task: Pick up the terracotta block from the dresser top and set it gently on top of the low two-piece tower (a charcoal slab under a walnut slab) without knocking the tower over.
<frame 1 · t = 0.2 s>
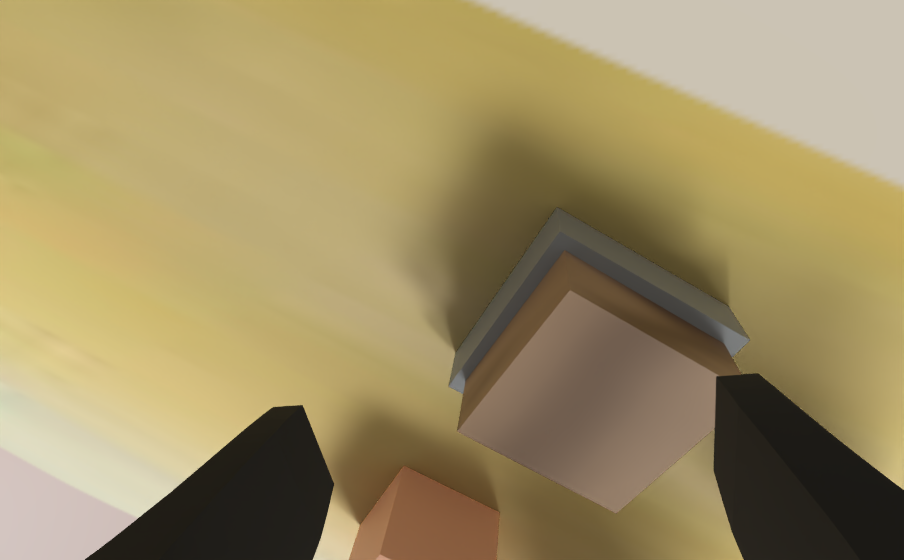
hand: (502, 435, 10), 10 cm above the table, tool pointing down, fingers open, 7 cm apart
tower base: (583, 324, 20), on the table, touching tower top
tower top: (587, 363, 18), point 2 cm above the table, touching tower base
block: (427, 517, 26), on the table
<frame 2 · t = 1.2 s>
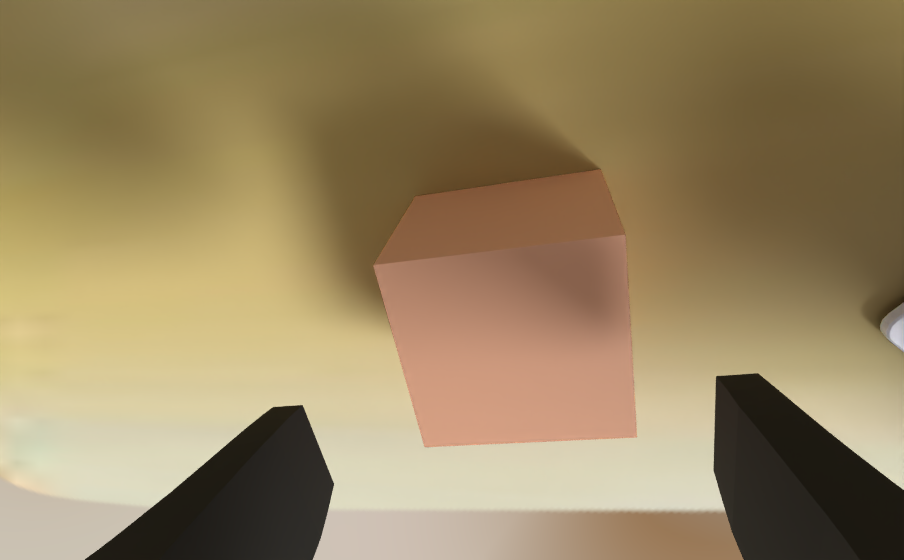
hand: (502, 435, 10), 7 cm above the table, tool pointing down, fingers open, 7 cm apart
block: (517, 264, 16), on the table
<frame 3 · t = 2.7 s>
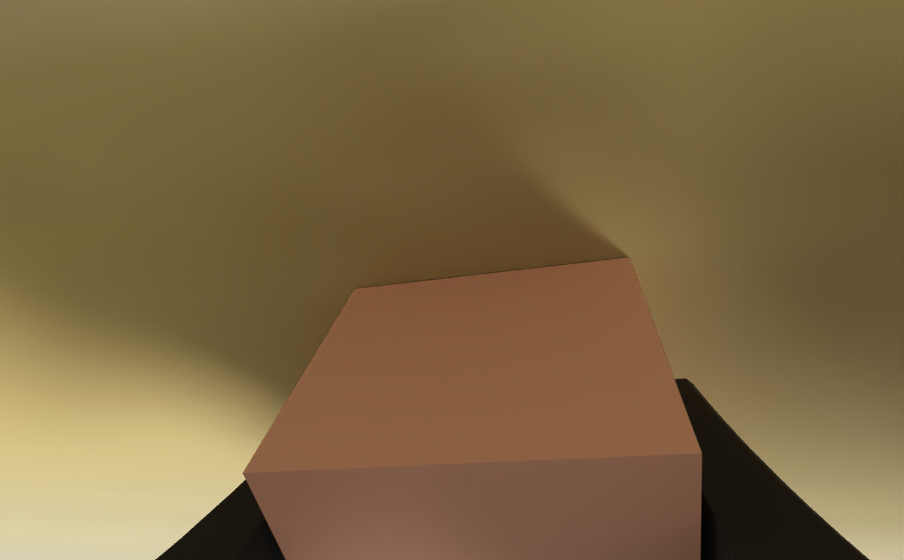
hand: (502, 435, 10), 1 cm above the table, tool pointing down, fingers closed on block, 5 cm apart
block: (505, 384, 11), on the table, touching gripper
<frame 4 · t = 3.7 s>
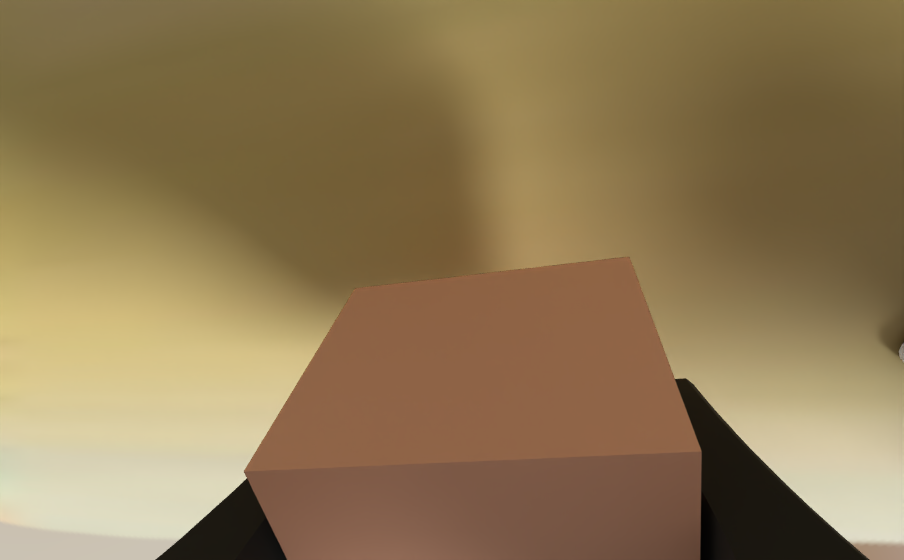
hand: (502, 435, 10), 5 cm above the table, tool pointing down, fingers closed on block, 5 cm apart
block: (505, 383, 11), point 4 cm above the table, touching gripper
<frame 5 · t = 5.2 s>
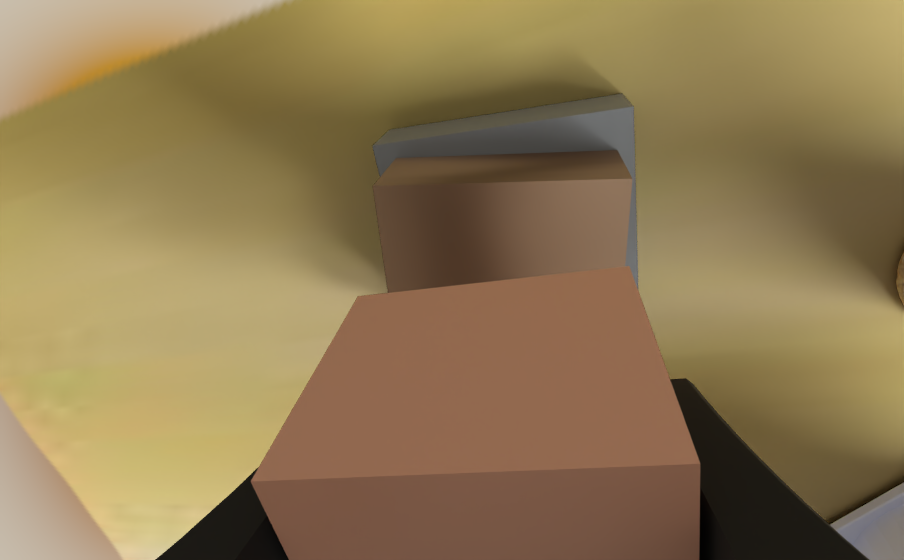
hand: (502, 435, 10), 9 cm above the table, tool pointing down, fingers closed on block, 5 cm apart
tower base: (515, 215, 18), on the table, touching tower top
tower top: (506, 254, 16), point 2 cm above the table, touching tower base
block: (506, 390, 11), point 8 cm above the table, touching gripper
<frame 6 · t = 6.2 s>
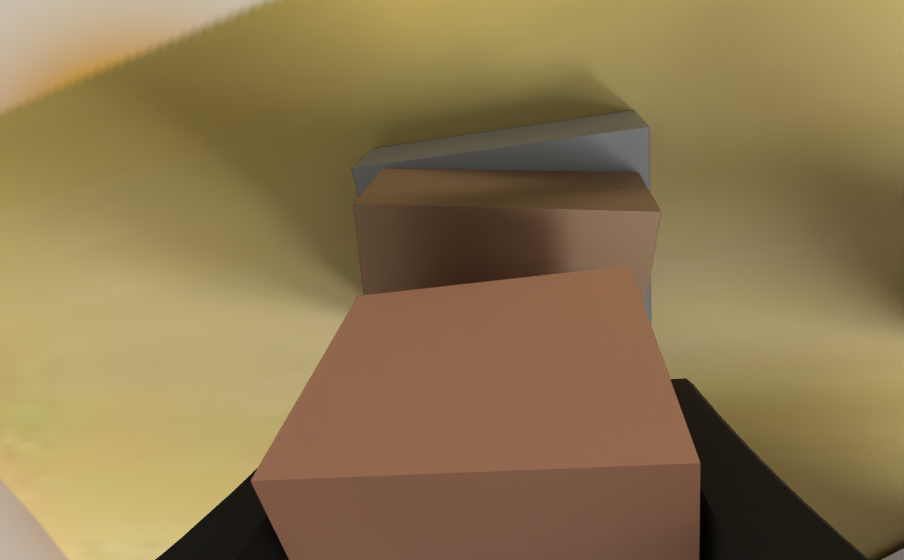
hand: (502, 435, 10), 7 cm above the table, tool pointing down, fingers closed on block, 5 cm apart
tower base: (513, 243, 16), on the table, touching tower top
tower top: (504, 282, 14), point 2 cm above the table, touching tower base
block: (506, 390, 11), point 6 cm above the table, touching gripper
when the fingers open (7 cm above the table, at t = 6.9 s): block drops 1 cm, point 4 cm above the table.
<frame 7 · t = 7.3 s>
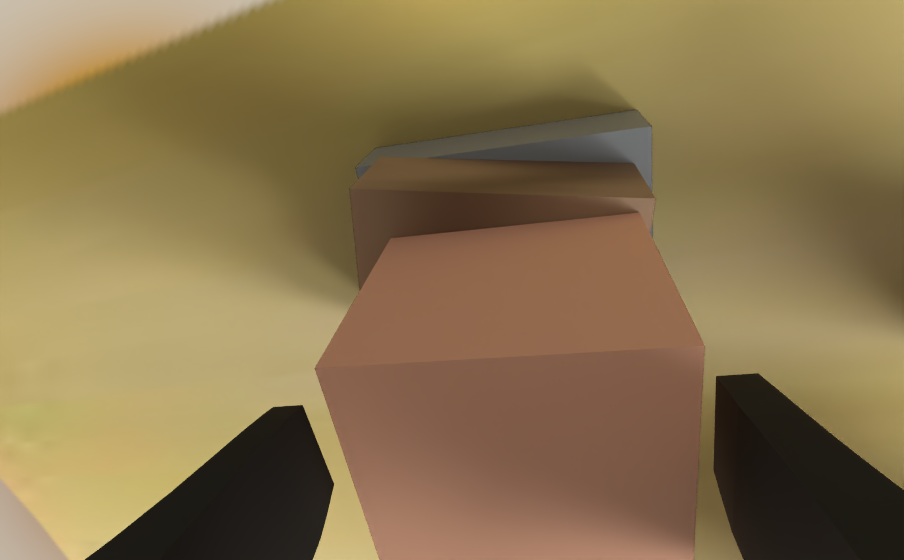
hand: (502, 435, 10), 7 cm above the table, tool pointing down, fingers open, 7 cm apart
tower base: (516, 241, 16), on the table, touching tower top
tower top: (499, 272, 14), point 2 cm above the table, touching tower base
block: (522, 330, 12), point 4 cm above the table
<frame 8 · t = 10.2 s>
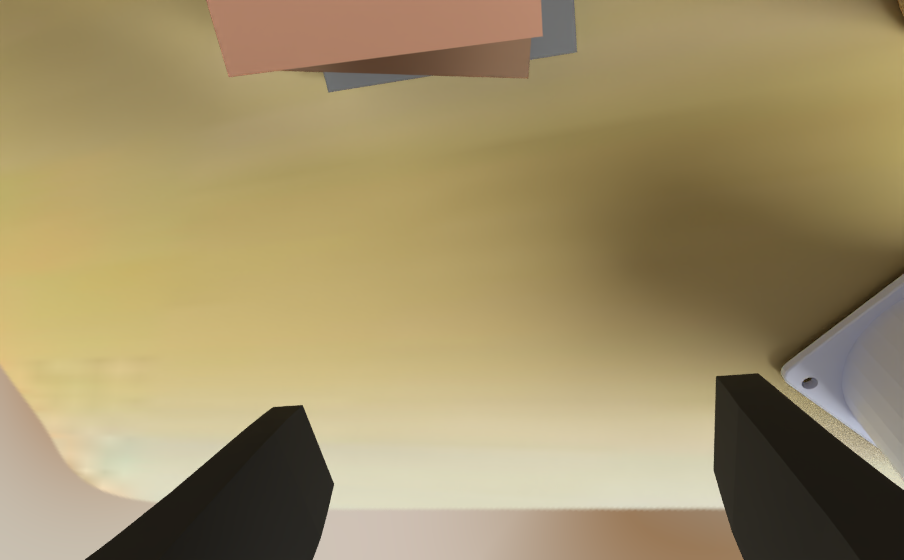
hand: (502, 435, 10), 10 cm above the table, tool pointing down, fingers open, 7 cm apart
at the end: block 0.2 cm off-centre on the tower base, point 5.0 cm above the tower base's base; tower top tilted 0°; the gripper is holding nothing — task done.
